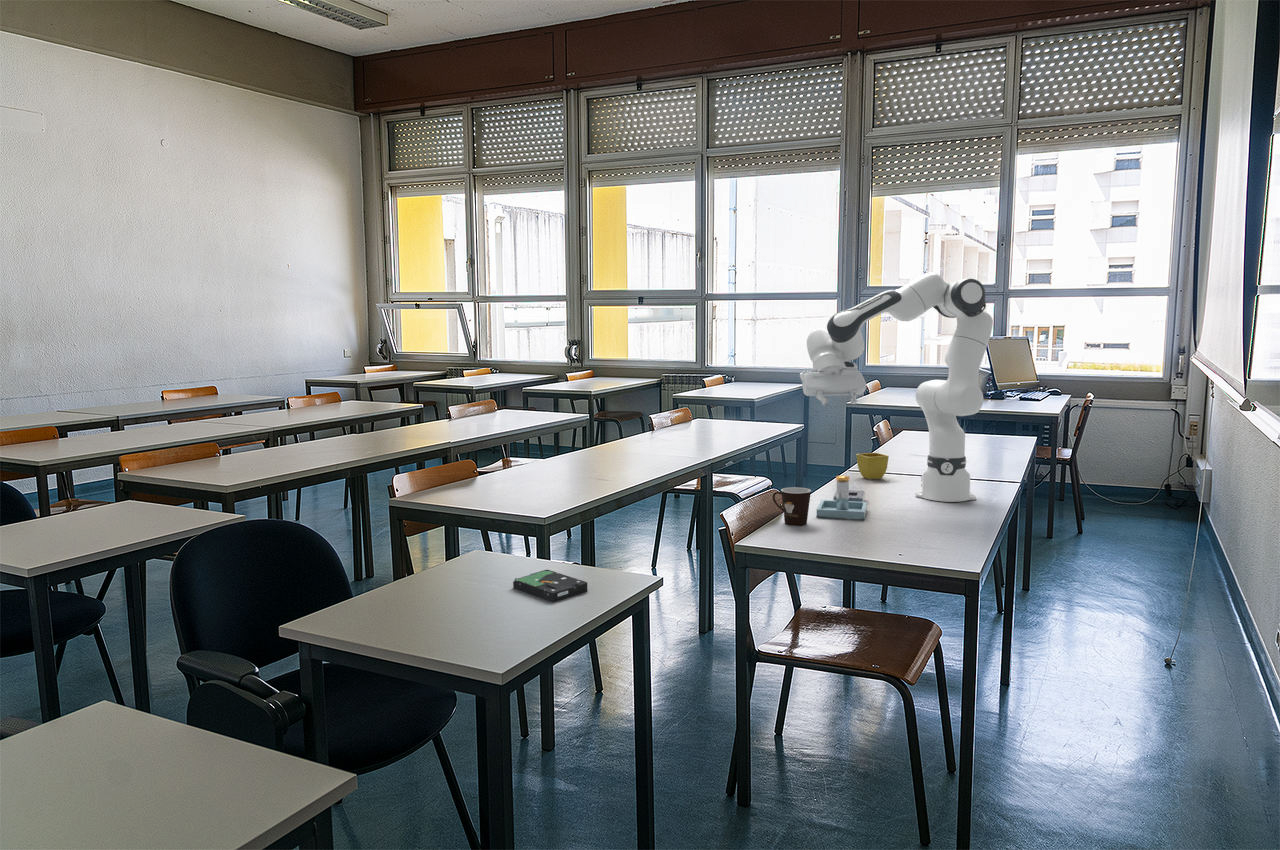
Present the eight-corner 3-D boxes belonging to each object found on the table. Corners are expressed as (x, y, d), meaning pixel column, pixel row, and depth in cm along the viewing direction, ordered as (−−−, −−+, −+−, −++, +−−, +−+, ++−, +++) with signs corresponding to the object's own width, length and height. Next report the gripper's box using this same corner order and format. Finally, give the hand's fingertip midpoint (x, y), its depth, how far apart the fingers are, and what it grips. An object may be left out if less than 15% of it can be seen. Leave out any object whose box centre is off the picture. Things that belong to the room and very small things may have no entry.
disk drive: (588, 594, 191) (547, 579, 201) (588, 582, 191) (547, 568, 201) (553, 605, 184) (511, 589, 194) (553, 593, 183) (511, 578, 194)
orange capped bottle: (836, 509, 264) (836, 475, 263) (849, 510, 263) (849, 475, 261) (835, 512, 260) (835, 477, 259) (848, 513, 259) (849, 478, 258)
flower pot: (855, 477, 320) (855, 453, 319) (875, 475, 323) (876, 452, 321) (868, 481, 312) (868, 457, 311) (888, 479, 314) (889, 455, 313)
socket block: (836, 498, 283) (836, 489, 283) (864, 499, 280) (864, 490, 280) (833, 506, 272) (833, 496, 272) (862, 507, 269) (862, 498, 269)
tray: (821, 507, 270) (821, 499, 270) (866, 509, 266) (866, 502, 266) (816, 517, 257) (816, 509, 257) (864, 520, 253) (864, 512, 252)
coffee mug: (816, 525, 248) (816, 491, 246) (790, 528, 244) (791, 494, 243) (794, 516, 258) (795, 484, 257) (770, 519, 255) (770, 487, 254)
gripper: (800, 364, 270) (811, 398, 262) (861, 363, 273) (873, 396, 265) (795, 377, 275) (805, 410, 267) (855, 376, 278) (867, 408, 270)
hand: (840, 403), depth 266 cm, fingers open, 8 cm apart
